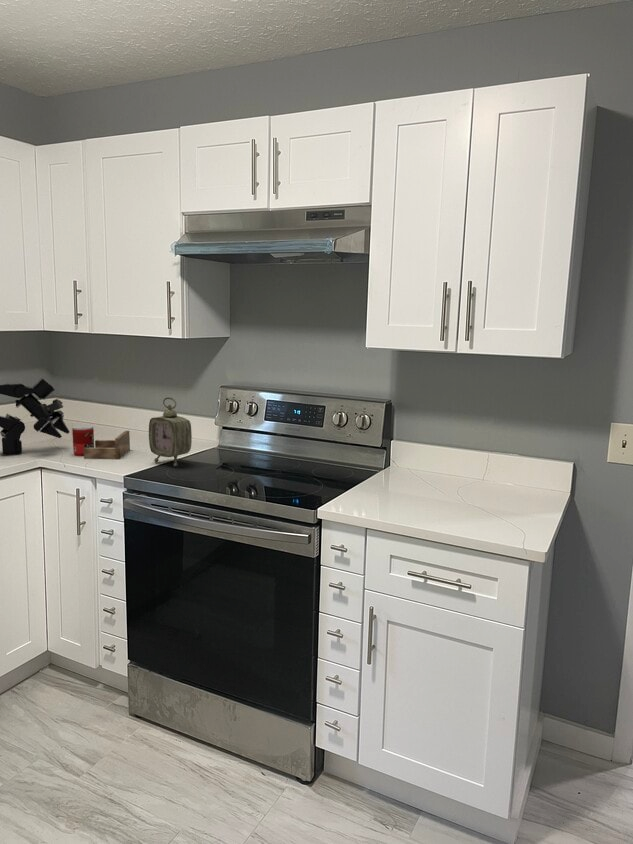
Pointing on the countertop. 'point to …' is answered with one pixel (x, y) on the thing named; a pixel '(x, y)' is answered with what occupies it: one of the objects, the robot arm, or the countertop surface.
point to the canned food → (82, 438)
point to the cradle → (109, 448)
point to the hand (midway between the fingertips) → (65, 435)
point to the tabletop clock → (170, 434)
